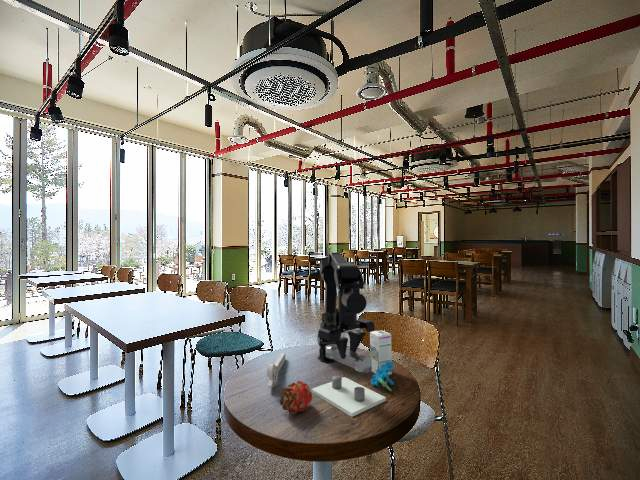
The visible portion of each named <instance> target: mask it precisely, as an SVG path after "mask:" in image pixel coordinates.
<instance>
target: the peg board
mask: <svg viewBox="0 0 640 480" xmlns="http://www.w3.org/2000/svg"><path fill="white" fill-rule="evenodd" d="M311 393H312V394H314V395H315V396H317V397H319V398H321V399H322V400H324V401H325V402H327V403H329V404H330V405H332V406H334V407H335V408H336V409H338V410H339V411H341V412H343V413H345V414H347V415H348V416H349V417H351V418H353V417H354V416H357V415H359V414H361V413H363V412H366V411H367V410H369V409H372V408H373V407H376V406H378V405H380V404H382V403H384V402H386V401H387V398H386V396H384V395H382V394H380V393H377V392H376V391H374V390H372V389H370V388H368V387H365V386H364V385H361V384H359V383H357V382H355V380H354V381H353V380H351V379H350V378H347V377H345V376H344V377H342V376H340V375H332V377H331V381H330V382H327V383H324V384H321V385H319V386H316V387H313V388H311Z"/></svg>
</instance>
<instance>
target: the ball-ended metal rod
mask: <svg viewBox="0 0 640 480" xmlns="http://www.w3.org/2000/svg"><path fill="white" fill-rule="evenodd" d="M326 357H327V358H329V359H334V360H335V361H337V362H339V363H341V364H343V365H345V366H348V367H350V368H351V369H354V370H355V371H356V372H358V373H370V372H371V370H372V358H371V357H370V356H368V355H362V354H360V353H358V352H353V351H350V349H348V348H347V349H346V355H345V358H344V359H342V358H341V356H340V354H339V351H338V348H337V345H336V344H330V345H327V346H326Z"/></svg>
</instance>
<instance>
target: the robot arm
mask: <svg viewBox="0 0 640 480" xmlns="http://www.w3.org/2000/svg"><path fill="white" fill-rule="evenodd" d="M319 274H320V275H321V278H322V280H323V281H324V310H323V311H324V312H323V313H321V322H320V323H319V324H320V325H319V329H318V331H317V337H316V338H317V339H316V340H317V344H318V346H319V350H318V352H319V353H318V356H317V360H320V361H323V362H325V363H327V364H328V363H332V362H335V361H336V360H334V359H329V358H327V357H326V346H327V345H330V344H336V345H337V348H338V351H339V354H340V356H341V358H342V359H344V358H345V355H346V349H348V348H347V347H348V342H349V350H350V351H353V352H355V353H357V350H358V348H359V346H360V344H361V342H362V341H363V339H364V337H365V336H366V335H367V333H366V332H364V330H363V329H365V330H366V331H367V332H369V333H370V332H373V331H376V330H375V329H376V328H375V326H376V325H375V323H374V322H373V321H372V320H369V319H366V318H365V319H364V318H358V315H359V314H361V313H362V312H363V311H364V310H366V307H367V303H368V301H367V299H366V297H365V296H364V295H363V294H362V293H361V292H360V290H364V289H365V279H364V275H363V274H362V271H361V268H359V266H358V265H357V264H355V263H349V262H348V261H347V260H346V259H345V257H344V255H343V253H342V252H329V253H327V256H325V257H324V258H322V259H321V261H320V265H319ZM337 290H338V291H337ZM337 300H338V301H337ZM337 302H338V303H337ZM346 334H347V335H348V337H346Z"/></svg>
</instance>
